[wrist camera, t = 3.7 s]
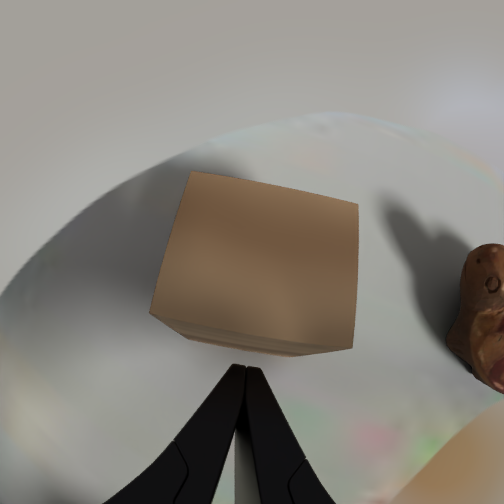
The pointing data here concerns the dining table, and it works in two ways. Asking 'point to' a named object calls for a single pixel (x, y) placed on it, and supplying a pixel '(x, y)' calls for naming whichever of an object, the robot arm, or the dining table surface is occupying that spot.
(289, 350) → the walnut block
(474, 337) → the decorative turtle
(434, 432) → the dining table surface
